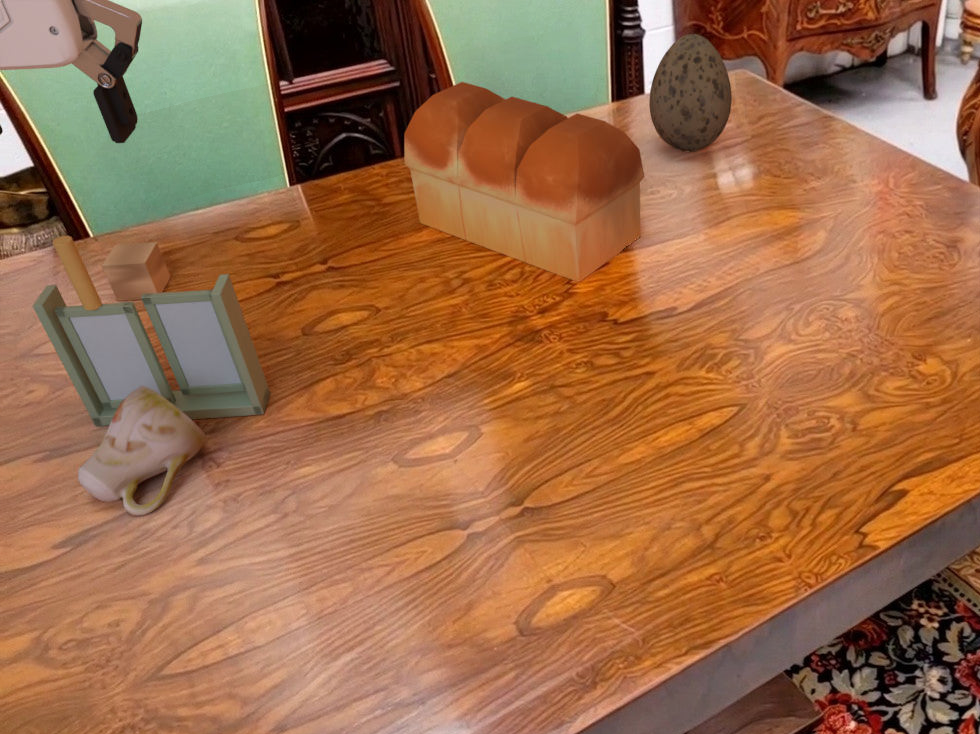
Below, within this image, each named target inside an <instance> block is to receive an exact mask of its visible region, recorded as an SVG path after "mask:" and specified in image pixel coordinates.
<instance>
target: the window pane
mask: <svg viewBox="0 0 980 734" xmlns="http://www.w3.org/2000/svg"><path fill="white" fill-rule="evenodd" d="M52 245H53V247H54V249H55V251H56V253H57V255H58V257H59V260H60V262H61V264H62V266H63V268H64V270H65V272H66V274H67V276H68V278H69V280H70V283H71V284H72V286H73V288H74V290H75V293H76V295H77V296H78V297H77V298H78V299H79V300H80V303H81V305H66V306H63V307H57V308H56V309H55V312H56V314H57V316H58V318H59V320H60V322H61V324H62V326H63V328H64V330H65V332H66V334H67V336H68V338H69V340H70V342H71V344H72V346H73V348H74V350H75V352H76V354H77V356H78V358H79V360H80V362H81V364H82V366H83V368H84V370H85V372H86V374H87V376H88V378H89V379H90V381H91V383H92V385H93V387H94V389H95V391H96V393H97V395H98V397H99V399H100V401H101V403H102V405H103V407H104V409H108V408H118V407H119V405H120V404H121V402H122V401H123V400H124V399H125V398H126V397H127V396H128V395H129V394H130V393H131V392H133V391H134V390H136V389H137V388H139V387H140V386H146V387H148V388H150V389H152V390H154V391H155V392H157V393H158V394H160V395H161V396H163V397H164V398H165V399H167V400H168V401H169V402H171V403H172V404H175V402H176V399H175V396H174V394H173V392H172V391H173V389H172V388H171V385H170V383H169V380H168V378H167V376H166V373H165V371H164V368H163V366H162V364H161V362H160V360H159V358H158V356H157V353H156V351H155V348H154V347H153V344H152V342H151V339H150V337H149V335H148V332H147V330H146V328H145V325H144V323H143V321H142V319H141V316H140V314H139V312H138V310H137V308H136V304H135V302H134V301H128V302H127V301H126V302H125V301H124V302H114V303H113V302H111V303H103V302H102V299H101V297H100V295H99V293H98V292H97V291H98V290H97V289H96V287H95V284H94V282H93V279H92V278H91V276H90V274H89V271H88V270H87V267H86V265H85V263H84V261H83V259H82V256H81V255H80V253H79V250H78V247H77V246H76V244H75V241H74V239H73V237H72V236H70V235H62V236H61V235H60V236H58V237H56V238H54V239H53V240H52Z"/></svg>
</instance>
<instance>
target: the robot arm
mask: <svg viewBox="0 0 980 734" xmlns="http://www.w3.org/2000/svg"><path fill="white" fill-rule="evenodd" d="M96 22H98V23H100V24H102V25H105V26H108V27H110V28H111V29H112V31H113V32H114V46H113V48H112V49H109V48H108V47H107V46H105V45H104V44H103V43H102V42H100V41H99V40H98V29H97V26H96ZM142 25H143V18H142V15H140V13H139V12H137V11H135V10H133V9H131V8H128V7H125V6H123V5H120V4H118V3H117V2H114V1H111V0H0V71H16V70H35V69H36V70H37V69H39V70H40V69H55V68H61V67H66V66H69V65H73V66H74V67H76V68H77V69H78V70H79V71H81V72H82V73H83V74H85V76H87V77H88V78H90V79H91V80H93V81H94V82H95V83H96V84H97V86H96V87H95V88H94V89H93V90H92V91H93V92H92V93H93V97H94V99H95V103H96V104H97V107H98V109H99V111H100V114H101V117H102V119H103V122H104V125H105V127H106V129H107V132H108V134H109V137H110V140H111V141H112V142H114V143H115V144H125V143H126V141H128V139H129V138H130V136H131V135H132V134H133V133H134V132H135V130H136V128H137V124H138V120H139V119H138V114H137V110H136V108H135V106H134V105H135V104H134V103H133V100H132V98H131V95H130V94H131V93H130V92H129V90H128V86H127V84H126V82H125V79H124V75H125V74H126V73H127V71H128V69H129V67H130V66H131V64H132V63H133V60H134V59H135V57H136V56H137V54H138V52H139V42H140V38H141V32H142ZM3 131H4V130H3V127H2V125H1V124H0V136H1V135H2V134H3Z"/></svg>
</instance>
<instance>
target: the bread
mask: <svg viewBox="0 0 980 734" xmlns="http://www.w3.org/2000/svg"><path fill="white" fill-rule="evenodd" d="M403 145H404V149H403V150H404V153H403V155H404V159H403V160H404V161H403V163H404V165H405V167H407V168H408V169H409V170H410V171H409V172H410V176H411V182H412V186H413V187H412V188H413V192H414V197H415V203H416V210H417V214H418V219H419V223H420V224H421V225H424V226H427V227H429V228H432V229H435V230H438V231H440V232H443V233H445V234H447V235H451V236H453V237H456V238H459V239H462V240H464V241H467V242H470V243H472V244H475V245H478V246H480V247H483V248H485V249H488V250H491V251H494V252H496V253H498V254H502V255H505V256H507V257H510V258H512V259H515V260H518V261H519V262H522V263H525V264H528V265H531V266H533V267H536V268H538V269H542V270H544V271H547V272H550V273H552V274H555V275H557V276H560V277H563V278H565V279H569V280H571V281H574V282H576V283H580V282H581V281H583V280H584V279H586V278H587V277H588V276H590V275H591V274H593V273H594V272H595V271H596V270H598V269H599V268H600V267H603V265H605V264H606V263H607V262H609V261H611V260H612V259H613V258H614V257H616V256H617V255H618V254H620V253H622V251H624V250H625V249H626V248H625V247H626V246H628V245H629V246H631V245H630V243H632V242H633V241H635V239H637V238H638V237H640V236H641V237H642V233H641V231H642V230H641V182H642V181H643V180H644V178H645V171H644V167H643V161H642V156H641V150H640V148H639V147H638V146H637V145H636V144H635V142H634V141H633V140H632V139H631V137H630V136H629V135H628V134H627V132H624V130H621V129H620V128H617V127H616V126H614V125H613V124H611V123H609V122H607V121H605V120H603V119H599V118H595V117H591V116H588V115H584V114H581V113H574V114H573V115H571V116H570V117H568V116H567V115H565V114H563V113H561V112H559V111H557V110H555V109H553V108H551V107H549V106H548V105H544V104H541V103H536V102H533V101H529V100H526V99H522V98H520V97H519V98H518V97H515V96H510V97H508V98H505V97H502V96H500V95H499V94H497V93H496V92H493V91H492V90H490V89H488V88H486V87H482V86H479V85H475V84H471V83H468V82H464V81H460V82H458V83H456V84H454V85H452V86H449V87H448V88H445V89H442V90H441V91H439V92H437V93H434V94H432V95H431V96H430V97H429V98H428V99H427V100H426V101H425V102H423V103H422V104H421V105H420V107H418V108H417V109H416V110H415V111H414V113H413V115H412V117H411V119H410V121H409V123H408V125H407V127H406V129H405V131H404V143H403ZM641 237H640V238H641ZM635 242H636V241H635ZM633 243H634V242H633ZM633 243H632V244H633ZM629 246H628V247H629ZM624 248H625V249H624ZM623 249H624V250H623Z"/></svg>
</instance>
